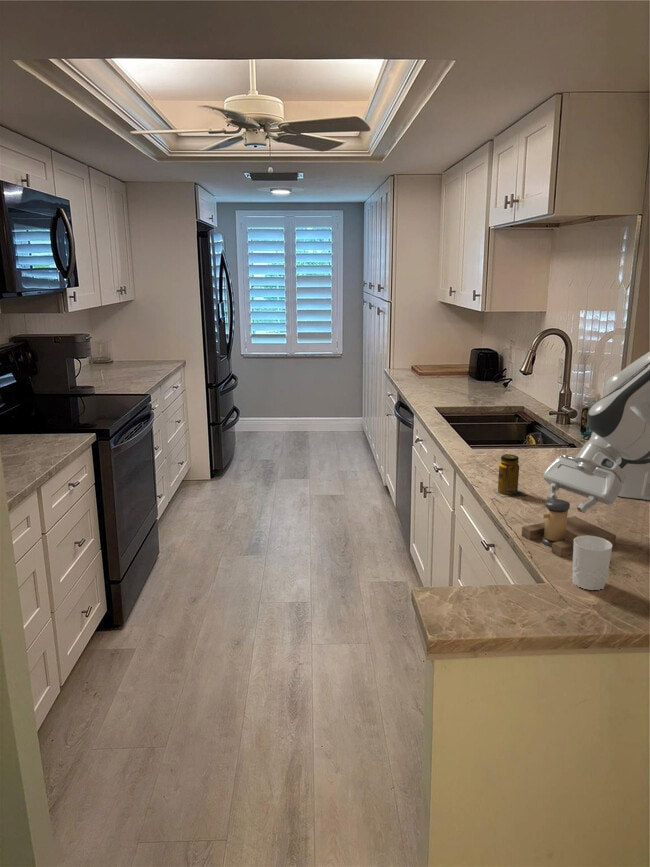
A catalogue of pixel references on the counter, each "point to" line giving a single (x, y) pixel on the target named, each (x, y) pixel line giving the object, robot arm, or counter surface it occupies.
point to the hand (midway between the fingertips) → (564, 505)
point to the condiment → (509, 476)
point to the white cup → (591, 562)
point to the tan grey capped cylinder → (555, 521)
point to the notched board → (568, 534)
